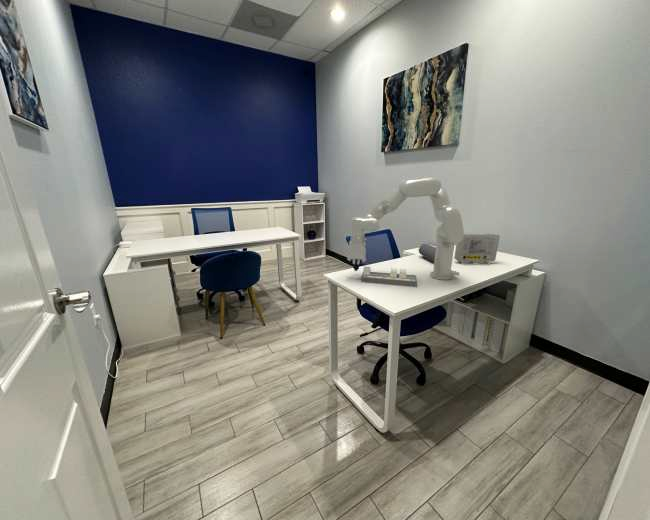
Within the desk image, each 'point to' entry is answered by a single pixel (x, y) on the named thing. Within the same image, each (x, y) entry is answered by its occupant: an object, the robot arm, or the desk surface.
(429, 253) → the bluetooth speaker
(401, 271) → the slider
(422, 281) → the desk surface
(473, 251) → the network device
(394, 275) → the slider middle
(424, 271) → the desk surface
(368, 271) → the slider
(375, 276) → the switch console
